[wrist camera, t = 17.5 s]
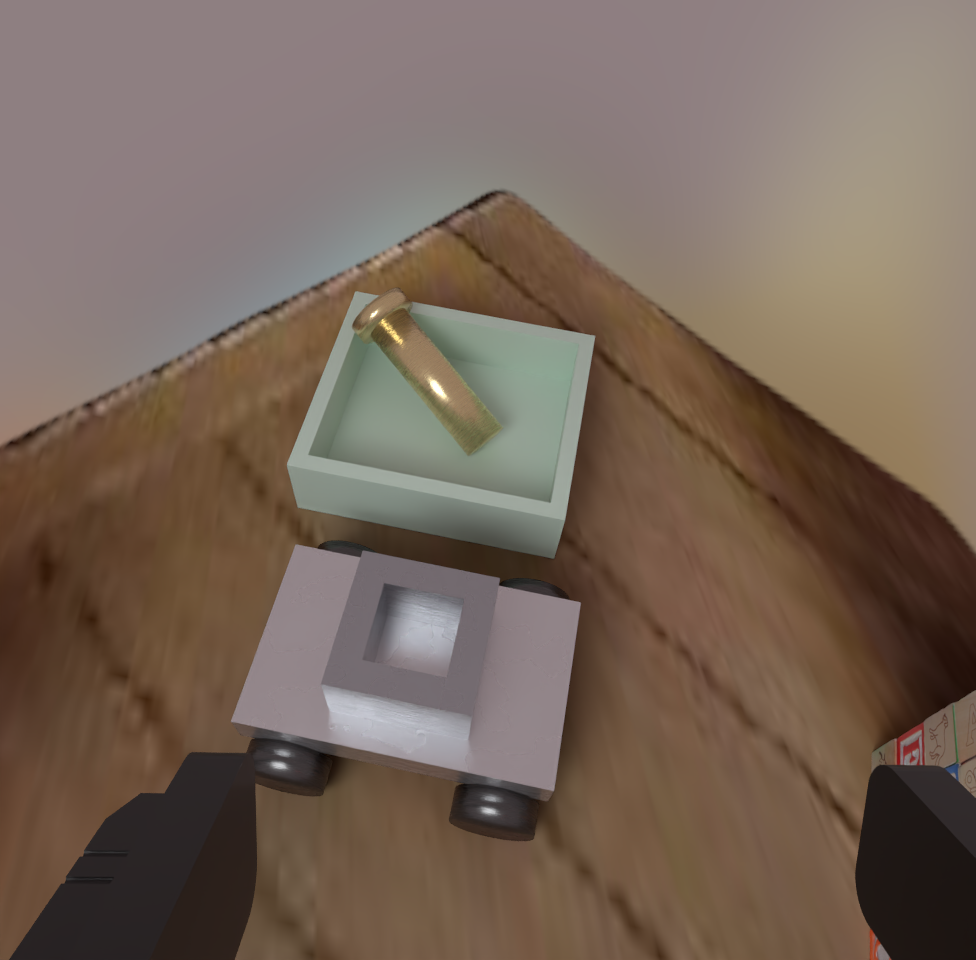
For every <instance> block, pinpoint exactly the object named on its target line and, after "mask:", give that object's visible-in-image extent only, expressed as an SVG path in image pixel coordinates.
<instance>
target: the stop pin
mask: <svg viewBox="0 0 976 960" xmlns="http://www.w3.org/2000/svg"><path fill="white" fill-rule="evenodd" d="M412 306H413V303H412V302H411V301H410V299H409V298H408V297H407V296H406V295H405V293H404V292H403V291H402V290H401V289H400V288H393V289H391V290H388V291H386V292H385V293H383V294H381V295H380V296H378V297H377V298H375V299H374V300H373V301H372V302H370V303H369V304H368V305H367V306H366V307H365V308H364V309H363V310H362V311H361V312H360V313H359V314H358V316H357V317H356V318H355V320H354V322H353V324H352V329H353V330H354V332H355V333H356V334H357V335H358V336H359V338H360V339H361V340H362V341H363V343H365V344H369V343H372V342H375V343H376V344H377V346H378V347H379V348H380V349H381V350H382V352H383V353H384V354H385V355H386V357H387V358H388V359H389V360H390V361H391V363H392V364H393V365H394V366H395V368H396V369H397V370H398V371H399V372H400V374H401V375H402V376H403V377H404V379H405V380H406V381H407V382H408V383H409V385H410V386H411V387H412V388H413V390H414V391H415V392H416V393H417V394H418V396H419V397H420V398H421V399H422V400H423V402H424V403H425V404H426V405H427V407H428V408H429V409H430V410H431V411H432V413H433V414H434V415H435V416H436V418H437V419H438V420H439V421H440V422H441V424H442V425H443V426H444V427H445V429H446V430H447V431H448V432H449V433H450V435H451V436H452V437H453V438H454V440H455V441H456V442H457V443H458V444H459V446H460V447H461V448H462V449H463V451H464V452H465V453H466V454H467V455H468V456H471V455H472V454H474V453H475V452H476V451H478V450H479V449H480V448H482V447H483V446H484V445H486V444H487V443H488V442H489V441H490V440H492V439H493V438H494V437H495V436H496V435H497V434H498V433H499V432H500V431H501V430H502V429H503V427H502V426H501V424H500V423H499V422H498V421H497V419H496V418H495V417H494V416H493V415H492V413H491V412H490V411H489V410H488V409H487V407H486V406H485V405H484V404H483V402H482V401H481V400H480V399H479V398H478V396H477V395H476V394H475V393H474V391H473V390H472V389H471V388H470V387H469V385H468V384H467V383H466V382H465V381H464V379H463V378H462V377H461V376H460V374H459V373H458V372H457V371H456V370H455V368H454V367H453V366H452V365H451V364H450V362H449V361H448V360H447V359H446V357H445V356H444V355H443V354H442V353H441V351H440V350H439V349H438V348H437V346H436V345H435V344H434V343H433V342H432V340H431V339H430V338H429V337H428V336H427V334H426V333H425V332H424V331H423V329H422V328H421V327H420V326H419V325H418V323H417V322H416V321H415V320H414V319H413V317H412V316H411V315H410V314H409V312H410V311H411V309H412Z"/></svg>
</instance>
